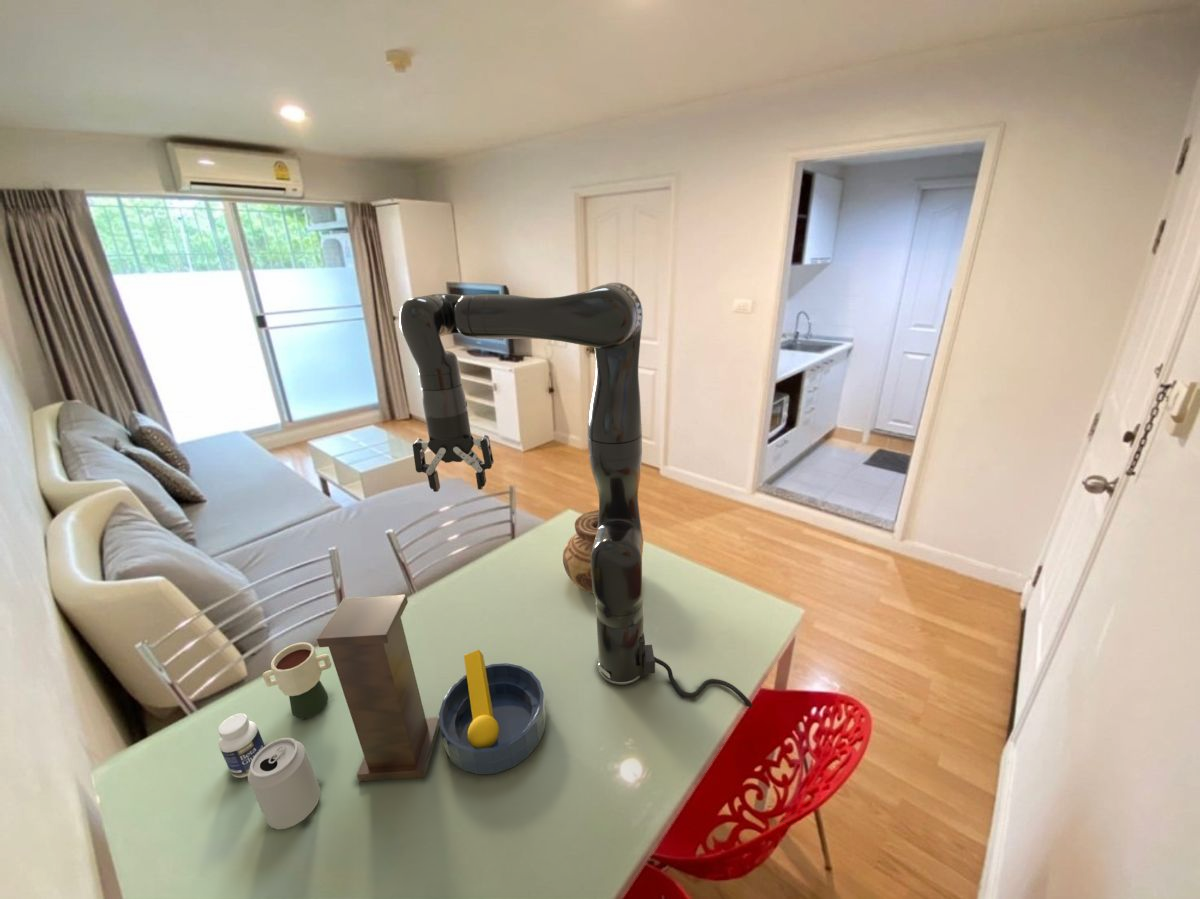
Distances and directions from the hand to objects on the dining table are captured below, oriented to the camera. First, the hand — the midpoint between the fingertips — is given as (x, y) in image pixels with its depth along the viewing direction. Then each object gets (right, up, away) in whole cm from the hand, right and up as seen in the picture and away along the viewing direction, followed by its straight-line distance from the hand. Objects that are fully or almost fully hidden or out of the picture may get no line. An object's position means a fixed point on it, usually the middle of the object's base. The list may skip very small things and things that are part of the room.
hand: (459, 488), depth 96 cm
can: (-21, -50, -17) cm, 57 cm away
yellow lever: (+6, -39, -6) cm, 39 cm away
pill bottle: (-33, -47, -10) cm, 59 cm away
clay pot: (+28, -27, +33) cm, 51 cm away
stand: (-7, -45, -9) cm, 47 cm away
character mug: (-29, -43, 0) cm, 52 cm away
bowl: (+8, -43, -6) cm, 44 cm away
